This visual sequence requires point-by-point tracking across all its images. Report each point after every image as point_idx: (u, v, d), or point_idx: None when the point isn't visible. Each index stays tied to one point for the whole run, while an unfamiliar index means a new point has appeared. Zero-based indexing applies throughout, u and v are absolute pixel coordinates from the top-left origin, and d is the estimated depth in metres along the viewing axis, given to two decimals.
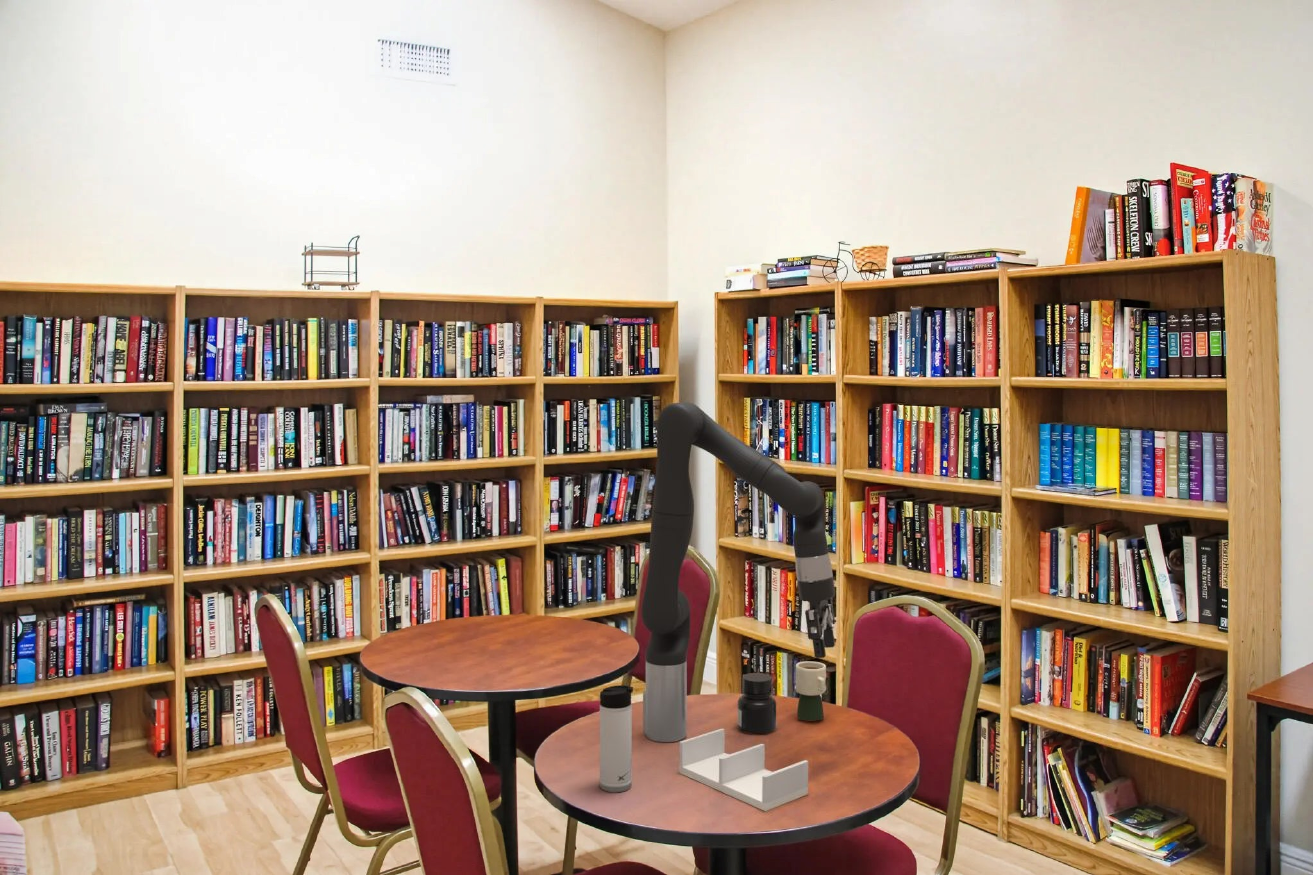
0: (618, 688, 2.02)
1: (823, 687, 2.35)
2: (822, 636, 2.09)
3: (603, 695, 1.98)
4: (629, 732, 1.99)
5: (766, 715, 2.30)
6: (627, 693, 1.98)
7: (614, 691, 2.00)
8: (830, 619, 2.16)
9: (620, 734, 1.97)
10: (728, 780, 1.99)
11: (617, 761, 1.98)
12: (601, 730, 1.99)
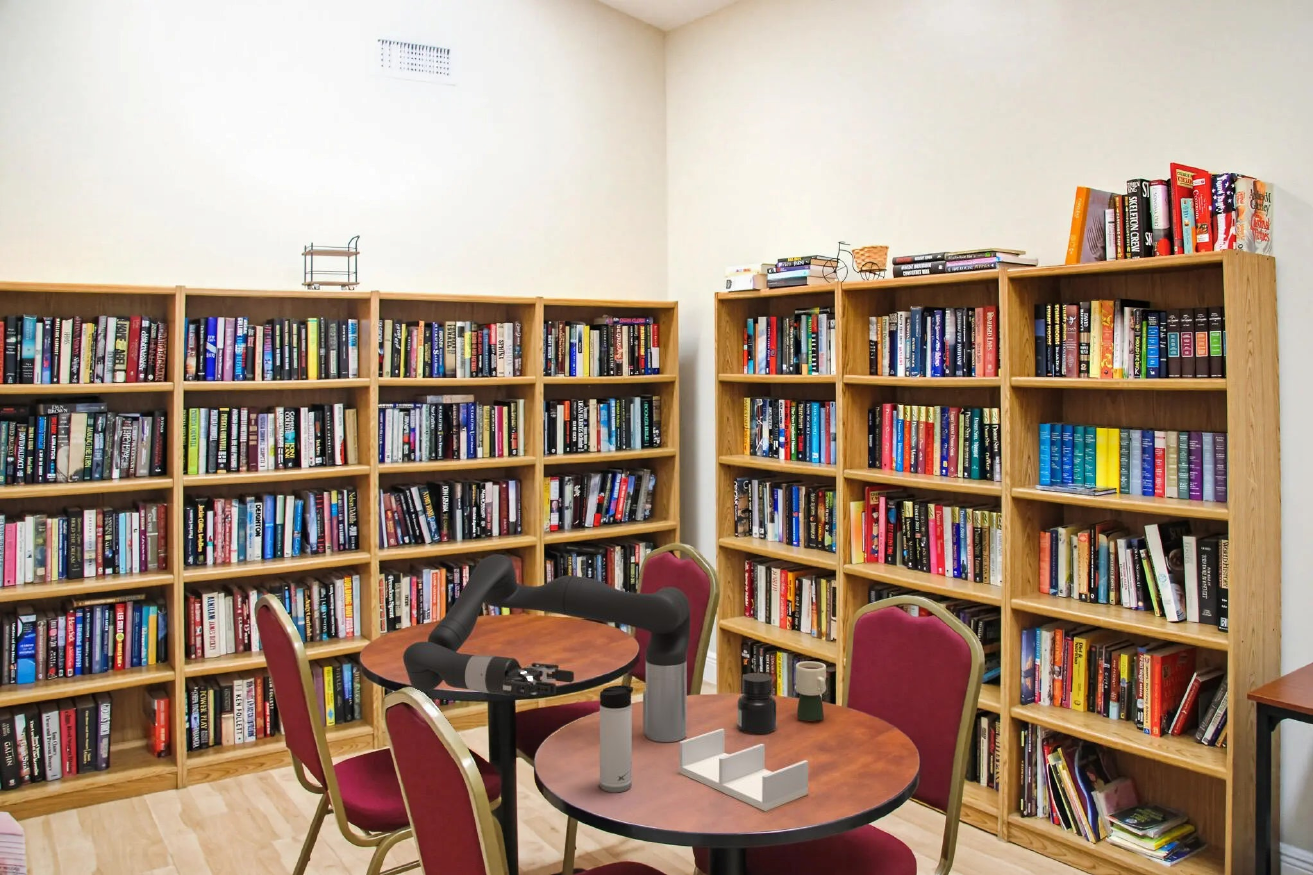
0: (618, 688, 2.02)
1: (823, 687, 2.35)
2: None
3: (603, 695, 1.98)
4: (629, 732, 1.99)
5: (766, 715, 2.30)
6: (627, 693, 1.98)
7: (614, 691, 2.00)
8: None
9: (620, 734, 1.97)
10: (728, 780, 1.99)
11: (617, 761, 1.98)
12: (601, 730, 1.99)
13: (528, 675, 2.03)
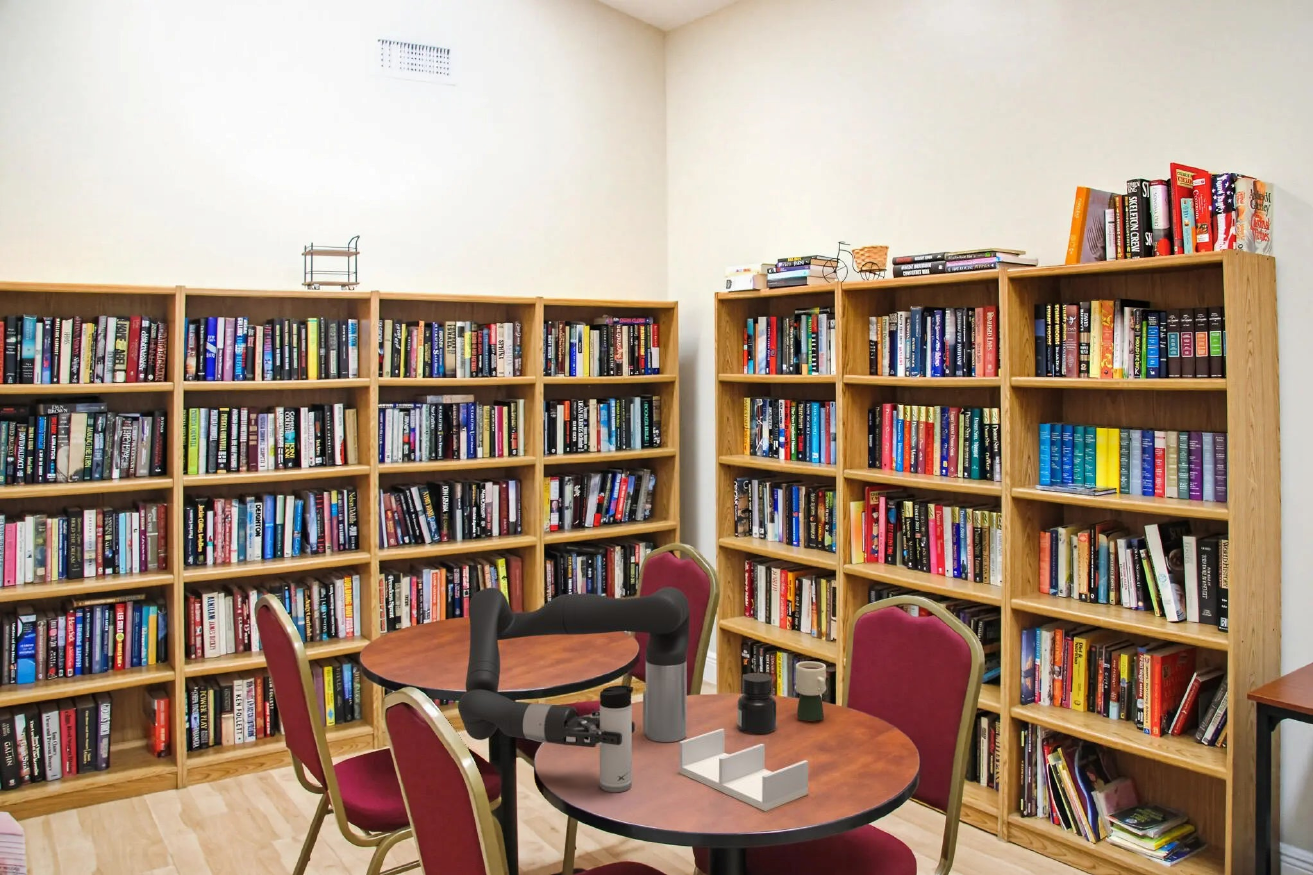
0: (618, 688, 2.02)
1: (823, 687, 2.35)
2: None
3: (603, 695, 1.98)
4: (629, 732, 1.99)
5: (766, 715, 2.30)
6: (627, 693, 1.98)
7: (614, 691, 2.00)
8: None
9: None
10: (728, 780, 1.99)
11: (617, 761, 1.98)
12: None
13: (591, 725, 1.99)
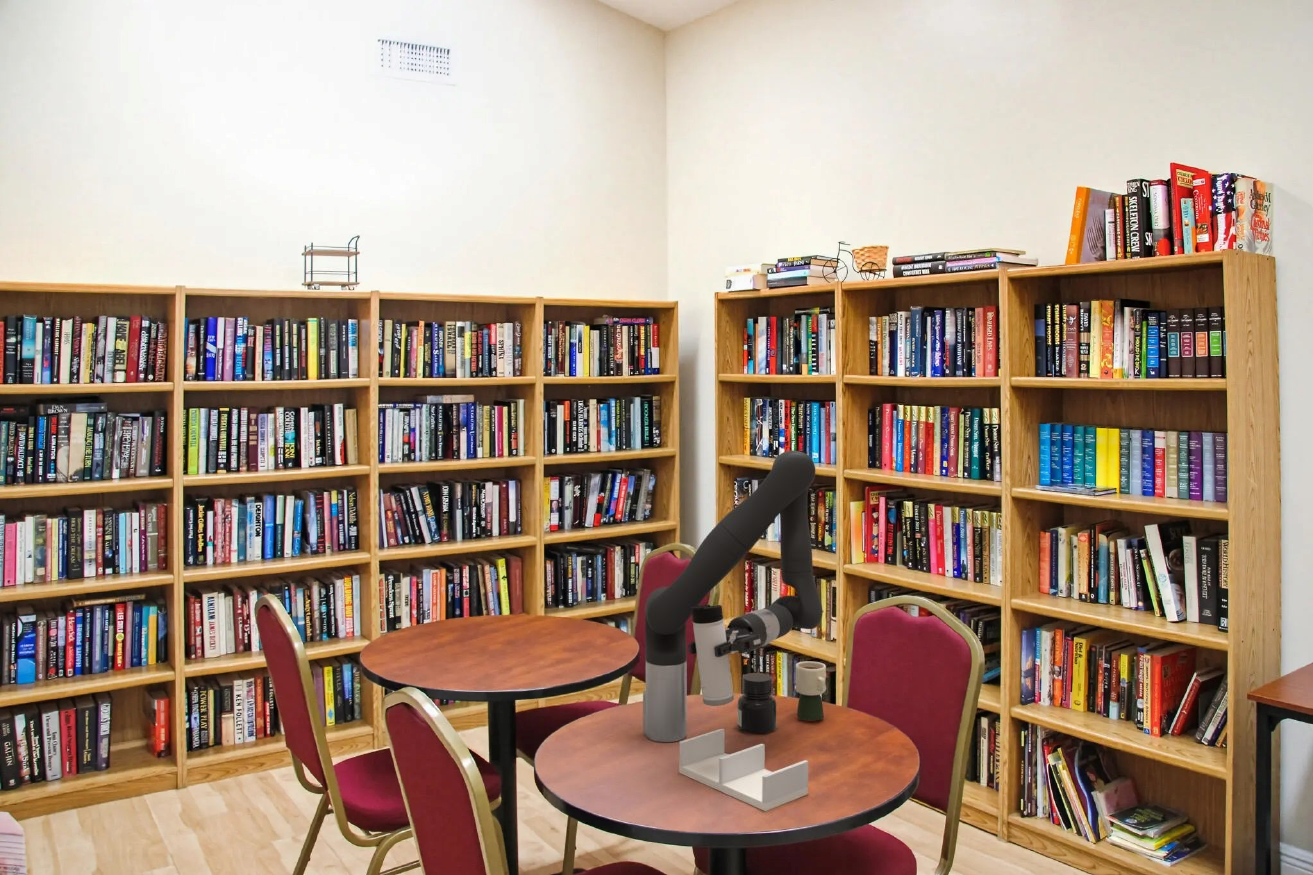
0: None
1: (823, 687, 2.35)
2: (733, 652, 2.03)
3: None
4: (700, 649, 2.03)
5: (766, 715, 2.30)
6: (693, 610, 2.03)
7: (707, 608, 2.04)
8: None
9: None
10: (728, 780, 1.99)
11: None
12: None
13: None
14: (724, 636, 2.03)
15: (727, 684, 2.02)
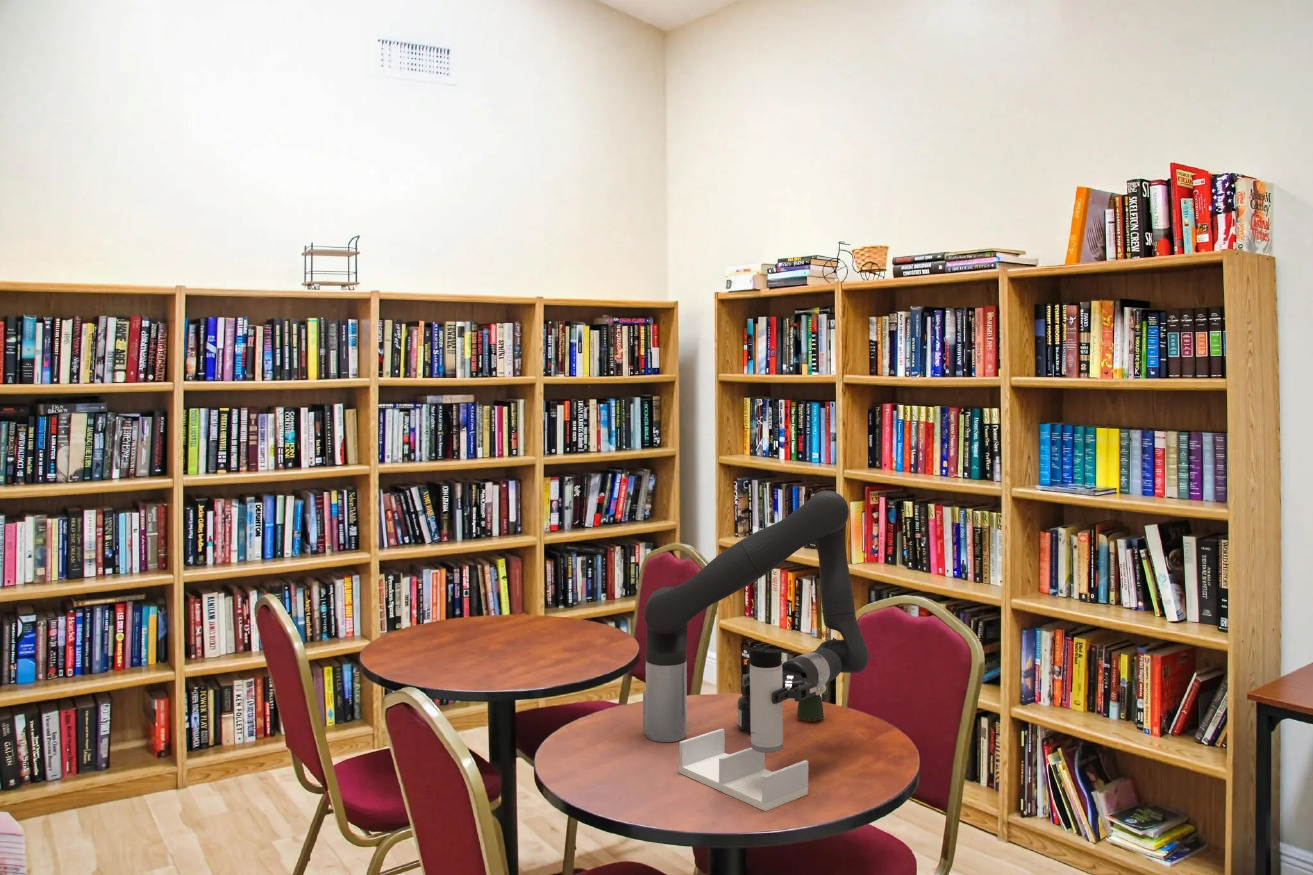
0: None
1: (823, 687, 2.35)
2: None
3: None
4: (755, 693, 1.95)
5: None
6: (753, 652, 1.95)
7: (766, 651, 1.97)
8: None
9: (750, 689, 1.97)
10: (728, 780, 1.99)
11: (750, 715, 1.98)
12: None
13: None
14: (781, 682, 1.96)
15: (779, 732, 1.95)
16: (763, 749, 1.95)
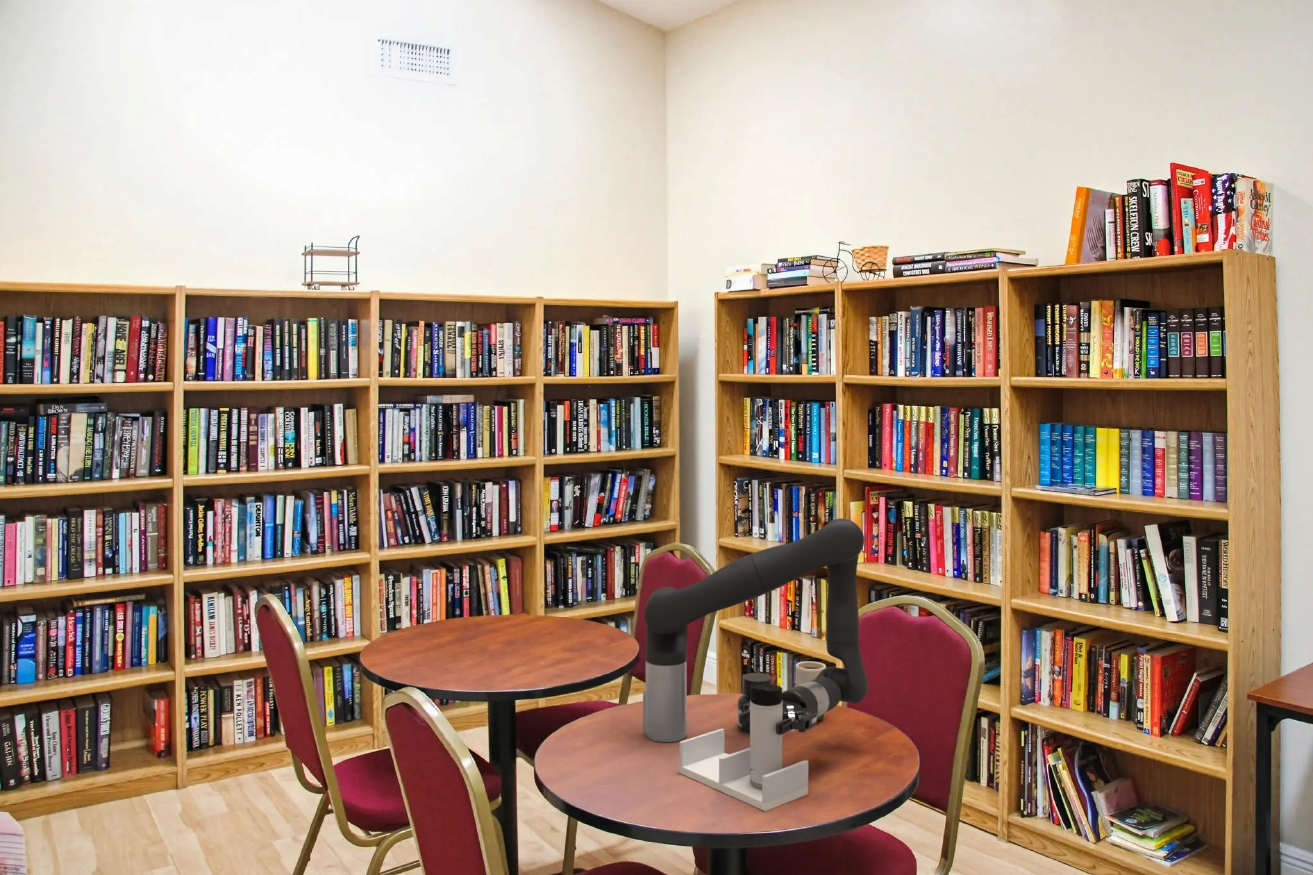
0: (775, 690, 1.95)
1: None
2: None
3: None
4: (755, 731, 1.95)
5: None
6: (753, 690, 1.95)
7: (766, 688, 1.97)
8: None
9: (750, 726, 1.97)
10: (728, 780, 1.99)
11: None
12: None
13: None
14: (781, 719, 1.96)
15: (778, 769, 1.96)
16: None
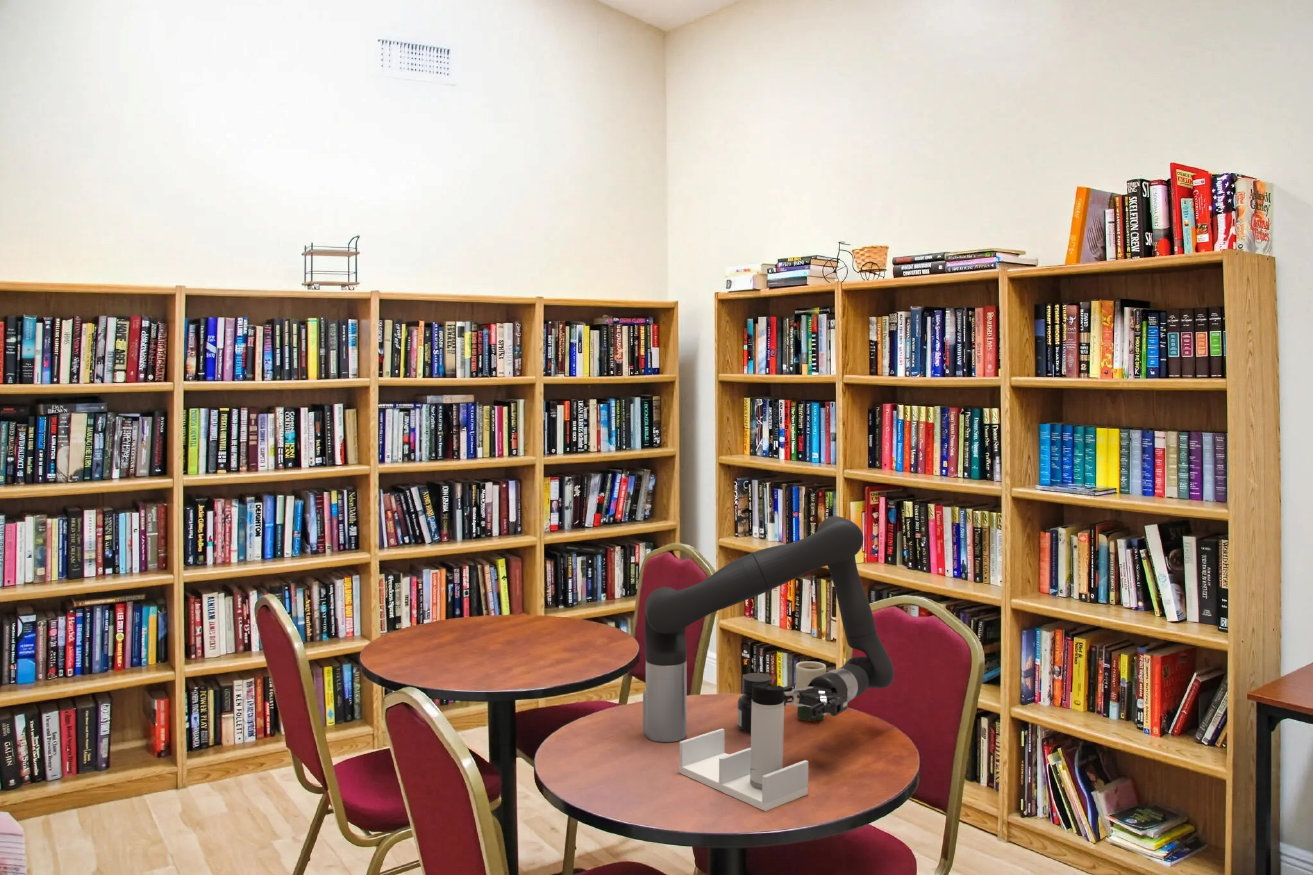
0: (777, 690, 1.96)
1: None
2: None
3: None
4: (756, 730, 1.96)
5: None
6: (755, 689, 1.95)
7: (768, 688, 1.97)
8: (798, 705, 2.12)
9: (751, 725, 1.98)
10: (728, 780, 1.99)
11: None
12: None
13: (797, 689, 2.12)
14: (782, 719, 1.96)
15: (779, 769, 1.96)
16: None
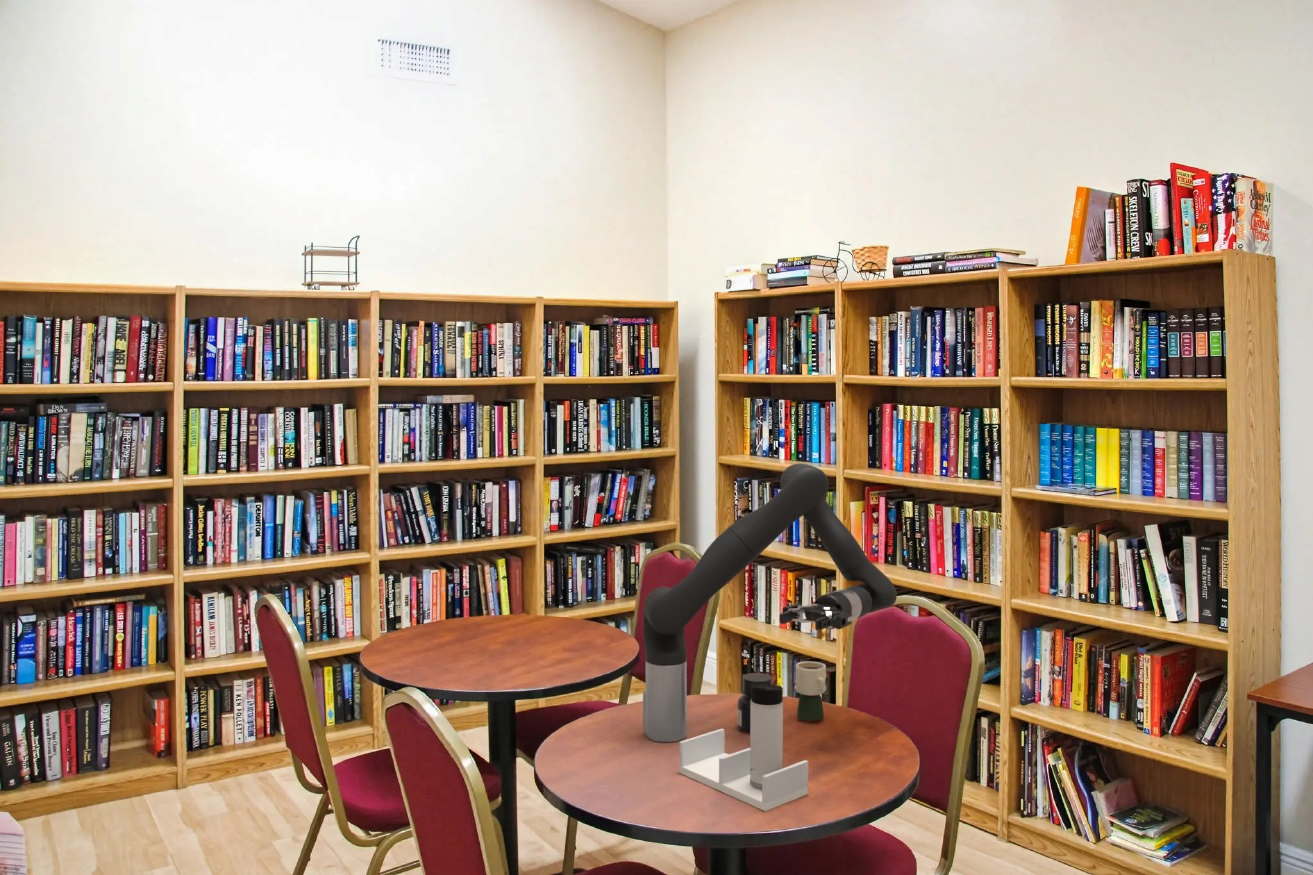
0: (776, 689, 1.96)
1: (823, 687, 2.35)
2: None
3: None
4: (755, 730, 1.96)
5: None
6: (754, 689, 1.96)
7: (767, 688, 1.97)
8: (804, 621, 2.17)
9: (750, 725, 1.98)
10: (728, 780, 1.99)
11: None
12: None
13: (802, 606, 2.18)
14: (781, 719, 1.96)
15: (778, 769, 1.96)
16: None
